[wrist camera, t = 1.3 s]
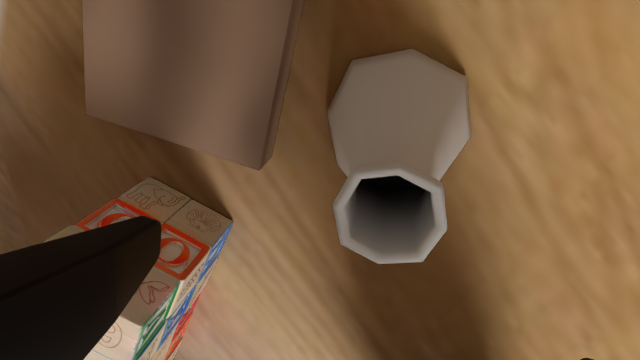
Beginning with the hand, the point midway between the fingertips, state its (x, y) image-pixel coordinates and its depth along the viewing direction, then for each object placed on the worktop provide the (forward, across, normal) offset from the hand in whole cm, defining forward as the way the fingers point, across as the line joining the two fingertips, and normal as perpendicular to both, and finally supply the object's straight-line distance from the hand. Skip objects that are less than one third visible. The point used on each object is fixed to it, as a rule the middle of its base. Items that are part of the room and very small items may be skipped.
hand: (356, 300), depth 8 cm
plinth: (+13, +10, -2) cm, 17 cm away
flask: (+13, 0, 0) cm, 13 cm away
